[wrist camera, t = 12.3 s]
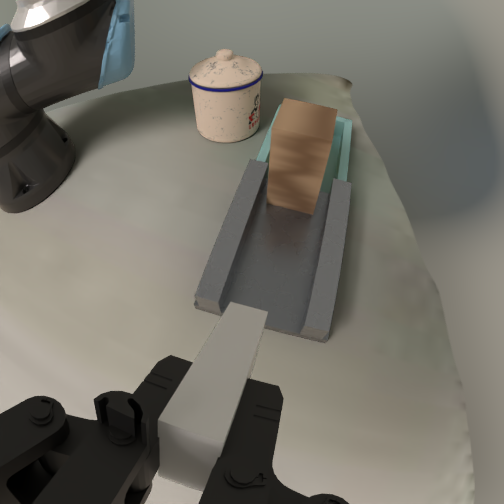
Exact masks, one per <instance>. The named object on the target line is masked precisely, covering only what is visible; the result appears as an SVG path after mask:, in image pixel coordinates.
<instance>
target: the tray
mask: <svg viewBox="0 0 504 504" xmlns="http://www.w3.org/2000/svg"><path fill="white" fill-rule="evenodd" d="M281 105H282V104H279V107H278V109H277V111H276V114H275V116H274V118H273V121H272V123H271V126H270V128H269V130H268V133H267V135H266V137H265V140H264V142H263V145H262V147H261V149H260V152H259V154H258V157H257V159H256V160H257V161H262V162H267V163H268V173H269V159H270V144H271V129H272V126H273V123H274V121H275V119H276V116H277V114H278V112H279V109H280V107H281ZM351 130H352V120H349V119H345V118H341V117H337V116H336V123H335V129H334V135H333V141H332V145H331V149H330V153H329V157H328V161H327V165H326V169H325V172H324V176H323V180H322V184H321V187H320V191H322V192H325V193H329V191H330V188H331V185H332V181H333V178H335V179H339V180H343V181H347V172H348V163H349V153H350V142H351ZM267 179H268V178H267Z"/></svg>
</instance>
